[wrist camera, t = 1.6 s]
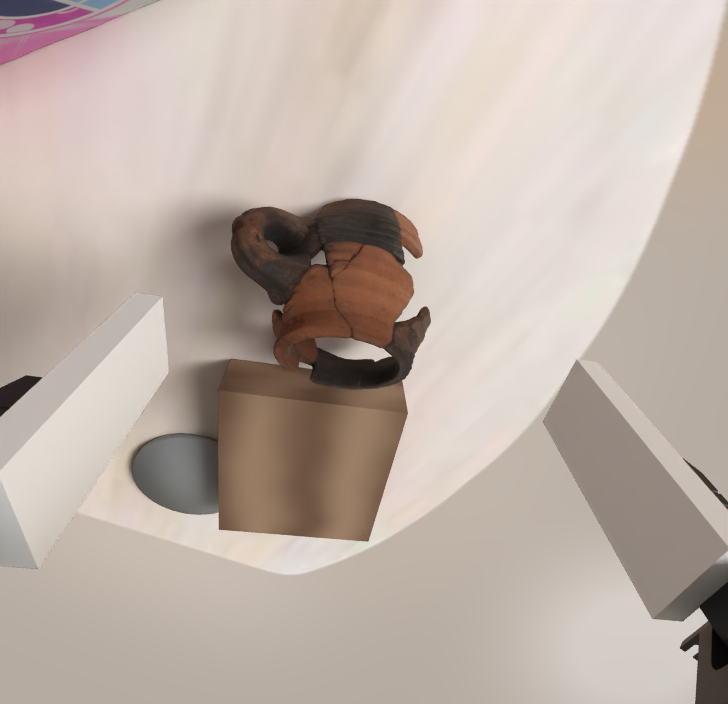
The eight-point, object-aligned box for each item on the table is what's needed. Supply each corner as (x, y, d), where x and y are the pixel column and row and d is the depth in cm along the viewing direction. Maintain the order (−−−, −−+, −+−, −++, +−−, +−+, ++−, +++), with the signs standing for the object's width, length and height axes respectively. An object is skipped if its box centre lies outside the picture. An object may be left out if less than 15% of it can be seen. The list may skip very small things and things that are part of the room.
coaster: (141, 503, 36) (138, 509, 36) (128, 427, 31) (125, 433, 31) (246, 512, 37) (245, 518, 37) (249, 440, 32) (248, 445, 32)
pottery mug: (465, 245, 25) (467, 369, 21) (364, 307, 31) (352, 409, 27) (290, 110, 18) (247, 251, 15) (212, 223, 25) (168, 341, 21)
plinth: (229, 493, 36) (218, 529, 33) (231, 359, 28) (217, 390, 25) (366, 505, 37) (368, 541, 34) (402, 380, 30) (407, 413, 27)
